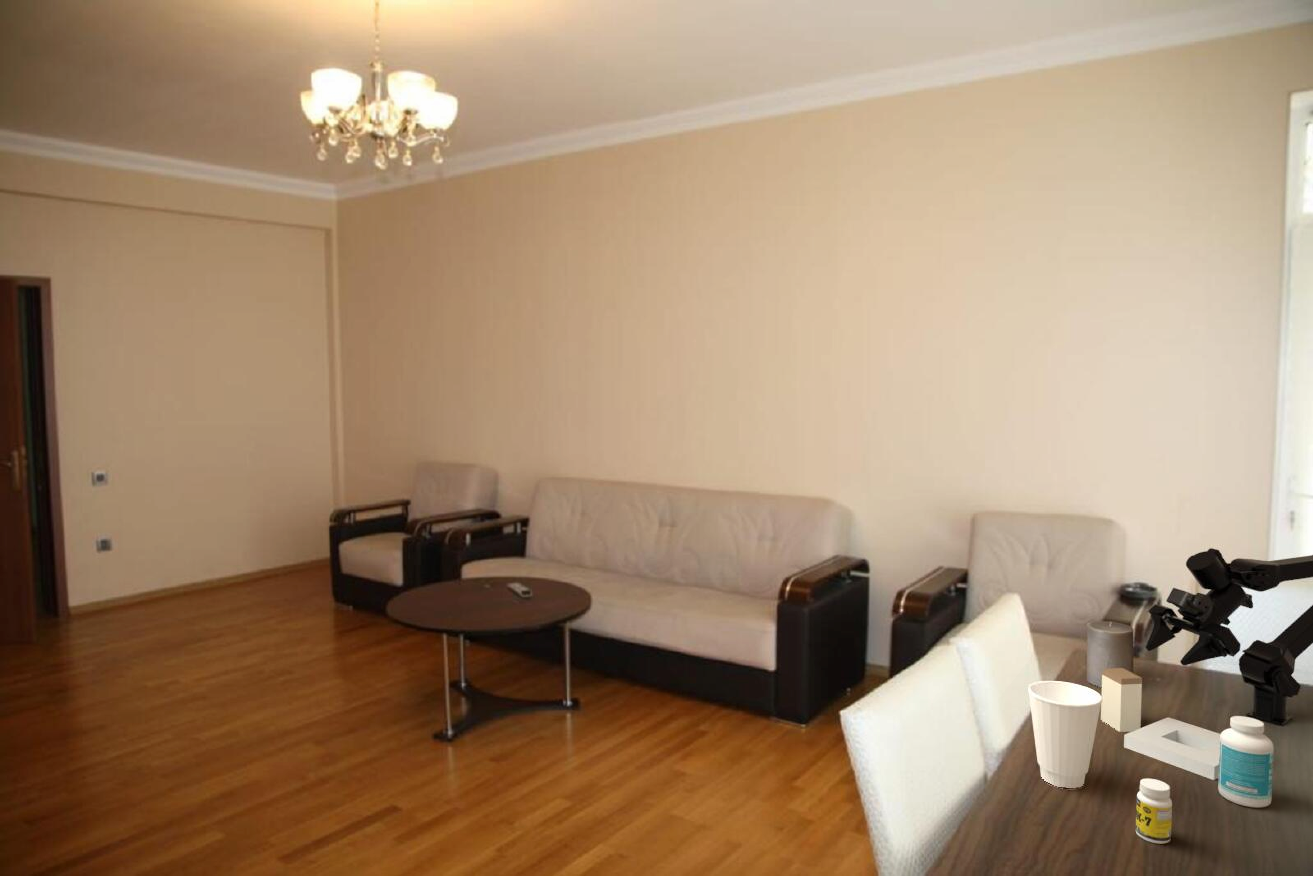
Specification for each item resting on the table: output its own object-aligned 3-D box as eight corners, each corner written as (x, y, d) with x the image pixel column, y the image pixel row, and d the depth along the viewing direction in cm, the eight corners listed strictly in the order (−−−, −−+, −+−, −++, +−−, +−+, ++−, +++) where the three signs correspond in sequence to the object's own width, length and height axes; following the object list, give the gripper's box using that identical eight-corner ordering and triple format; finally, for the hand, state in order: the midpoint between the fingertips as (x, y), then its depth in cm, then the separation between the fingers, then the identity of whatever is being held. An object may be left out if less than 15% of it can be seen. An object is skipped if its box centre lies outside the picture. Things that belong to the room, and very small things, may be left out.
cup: (1093, 770, 152) (1096, 684, 151) (1105, 801, 141) (1108, 708, 140) (1022, 761, 156) (1025, 677, 155) (1028, 790, 145) (1031, 700, 144)
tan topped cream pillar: (1120, 719, 176) (1122, 668, 175) (1140, 731, 170) (1142, 678, 169) (1100, 720, 175) (1102, 668, 174) (1119, 732, 169) (1121, 678, 168)
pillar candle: (1134, 681, 198) (1135, 618, 197) (1131, 694, 190) (1132, 628, 189) (1088, 674, 203) (1089, 613, 202) (1084, 686, 195) (1084, 623, 194)
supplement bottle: (1128, 829, 132) (1130, 777, 132) (1156, 827, 133) (1158, 776, 132) (1148, 845, 127) (1150, 792, 127) (1178, 844, 128) (1180, 790, 127)
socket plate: (1167, 729, 170) (1168, 717, 170) (1256, 758, 157) (1257, 746, 157) (1123, 747, 162) (1124, 734, 162) (1213, 780, 148) (1214, 766, 148)
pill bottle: (1280, 812, 137) (1283, 732, 136) (1230, 807, 139) (1233, 728, 138) (1257, 790, 145) (1260, 714, 144) (1210, 786, 146) (1212, 711, 145)
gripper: (1161, 567, 180) (1110, 615, 179) (1235, 588, 162) (1179, 641, 160) (1188, 604, 182) (1138, 652, 180) (1264, 629, 164) (1209, 683, 162)
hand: (1164, 656), depth 171 cm, fingers open, 9 cm apart
